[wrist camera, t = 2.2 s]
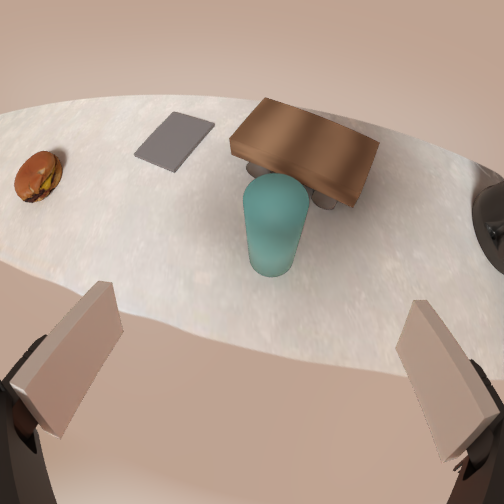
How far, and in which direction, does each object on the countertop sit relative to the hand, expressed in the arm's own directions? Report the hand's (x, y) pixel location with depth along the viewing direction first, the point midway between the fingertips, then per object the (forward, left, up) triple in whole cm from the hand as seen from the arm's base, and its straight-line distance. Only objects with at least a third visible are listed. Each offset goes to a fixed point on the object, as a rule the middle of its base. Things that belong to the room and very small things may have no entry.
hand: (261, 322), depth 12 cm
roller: (+4, -9, -19) cm, 21 cm away
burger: (+44, -3, -19) cm, 48 cm away
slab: (+6, -22, -19) cm, 30 cm away
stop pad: (+25, -19, -19) cm, 36 cm away
